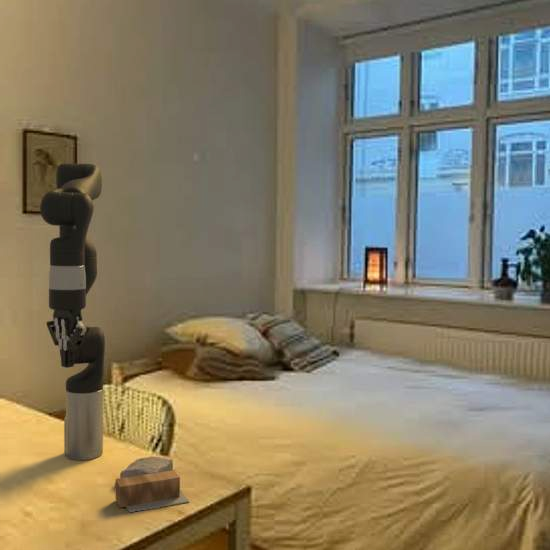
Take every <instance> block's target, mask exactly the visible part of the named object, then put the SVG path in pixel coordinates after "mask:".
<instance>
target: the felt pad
mask: <svg viewBox="0 0 550 550" xmlns="http://www.w3.org/2000/svg"><path fill="white" fill-rule="evenodd" d="M183 503H184V504H188V503H190V500H189V499H188V497H187V496H186V495H185V494H184V493H183V492H182V491H181V490H180V497H179V498H173V499H167V500H161V501H155V502H150V503H144V504H138V505H132V506H126V507H125V508H126V510H127V511H129V512H128V513H129V514H131V513H130V512H133V513H136V512H135V511H138V512H142V511H141V510H144V511H148V510H147V509H150V510H154V508H155V509H161V508H165V507H164V506H167V507H171V505H172V506H177V504H178V505H183ZM160 507H161V508H160Z"/></svg>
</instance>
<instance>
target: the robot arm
mask: <svg viewBox="0 0 550 550" xmlns="http://www.w3.org/2000/svg"><path fill="white" fill-rule="evenodd" d="M55 179H56V180H55V181H56V182H55V183H56V189H51V190H50V191H47V192H46V193H45V194H44V196H42V199H41V201H40V206H39V212H40V215H41V218H42V220H43V221H44V222H45V223H47V224H49V225H51V226H56V227H57V226H59V236H58V237H55V238H53V239H52V240H50V244H49V265H50V266H49V271H48V307H49V309H50V310H52V311H53V313H52V319H51V320H50V321H46V326H47V330H48V331H49V334H50V336H51V339H52V342H53V344H54V346H55V347H56V346H58V349H59V355H60V356H59V357H60V363H61V367H62V368H66V369H67V368H73V367H74V366H75V365H81V364H82V365H83V364H88V365H87V366H86V367H85V368H84V369H83V370H82V371H80V372H77V373H75V374H73V375H71V376H70V377H68V378H66V381H65V417H64V418H63V420H64V421H63V423H64V425H63V427H64V432H63V433H64V436H63V438H64V439H63V442H64V444H63V445H64V447H63V448H64V449H63V450H64V454H65V456H66V458H68V459H70V460H74V461H86V460H92V459H95V458H99V457H100V456H102V455H103V454H104V453H103V452H104V448H103V447H104V376H105V375H104V368H105V352H106V338H105V333H104V331H103V329H102V328H101V327H99V326H89V325H84V323H83V315H82V310H83V309H85V308H86V306H87V295H88V293H89V292H90V290H92V289H91V288H92V287H93V285H94V284H95V281H96V279H97V275H98V258H97V257H98V256H97V253H98V252H97V250H96V247H95V245H94V243H93V241H92V240H91V239H90V237H89V236H88V231H89V226H90V224H91V221H92V218H93V214H94V202H93V201H94V200H96V199H98V198H99V197H100V196H101V193H102V189H103V179H102V173H101V170H100V168H99V167H98V166H97V165H96V164H93V163H92V164H91V163H60V164H58V166H57V169H56V176H55Z"/></svg>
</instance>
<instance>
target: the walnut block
mask: <svg viewBox="0 0 550 550" xmlns="http://www.w3.org/2000/svg"><path fill="white" fill-rule="evenodd" d="M180 484H181V479H180V476H179V475H178V473H177V472H176V471H175V470H172V471H165V472H159V473H152V474H145V475H139V476H132V477H126V478H120V477H119V478H115V501H116V503H117V505H118V506H119V508H126V506H132V505H138V504H144V503H150V502H155V501H161V500H167V499H173V498H179V497H180V491H181V487H180V486H181V485H180Z"/></svg>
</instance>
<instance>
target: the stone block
mask: <svg viewBox="0 0 550 550" xmlns="http://www.w3.org/2000/svg"><path fill="white" fill-rule="evenodd" d="M173 463H174V461H173V458H166V457H161V456H153V455H152V456H148V457H142V458H138V459H135V460H134V461H133V462H131V463H130V464H129V465H127V466H126V468H125V469H123V470H122V471H121V472H120V473H119V474H120V476H119V478H126V477H132V476H139V475H145V474H152V473H159V472H165V471H172V470H173V469H174V464H173Z"/></svg>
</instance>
